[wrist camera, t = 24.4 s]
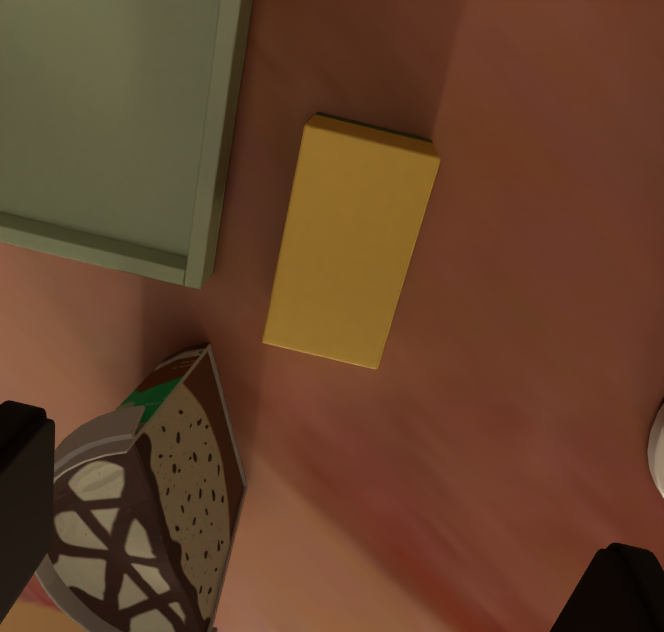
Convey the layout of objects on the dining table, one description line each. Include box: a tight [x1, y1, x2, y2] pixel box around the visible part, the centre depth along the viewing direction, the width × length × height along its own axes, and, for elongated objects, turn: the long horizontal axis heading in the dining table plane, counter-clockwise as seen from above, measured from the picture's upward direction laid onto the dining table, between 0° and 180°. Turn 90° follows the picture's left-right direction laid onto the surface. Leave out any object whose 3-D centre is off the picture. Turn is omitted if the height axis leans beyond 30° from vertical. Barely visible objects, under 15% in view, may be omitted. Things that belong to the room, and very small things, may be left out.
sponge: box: [262, 112, 441, 369], centre depth 24 cm, size 5×9×4 cm, turn 167°
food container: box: [35, 343, 248, 632], centre depth 27 cm, size 12×6×10 cm, turn 8°
